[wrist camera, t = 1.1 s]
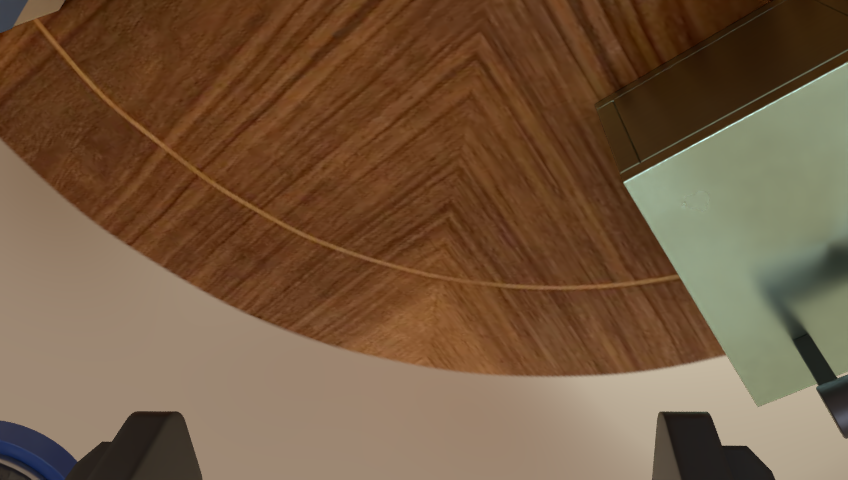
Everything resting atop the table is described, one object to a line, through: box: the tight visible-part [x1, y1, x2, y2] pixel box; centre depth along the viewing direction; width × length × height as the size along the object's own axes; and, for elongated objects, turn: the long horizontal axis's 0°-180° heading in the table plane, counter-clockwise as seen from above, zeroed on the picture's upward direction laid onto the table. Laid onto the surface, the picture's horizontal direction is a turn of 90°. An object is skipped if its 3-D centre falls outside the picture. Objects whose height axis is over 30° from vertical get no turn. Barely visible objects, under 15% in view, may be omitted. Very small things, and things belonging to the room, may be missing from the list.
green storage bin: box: [595, 0, 848, 174], centre depth 32 cm, size 12×11×9 cm
